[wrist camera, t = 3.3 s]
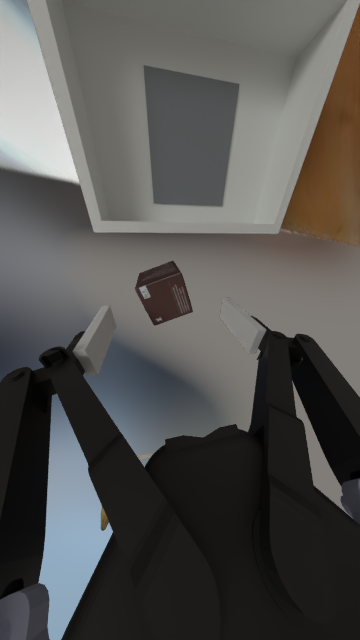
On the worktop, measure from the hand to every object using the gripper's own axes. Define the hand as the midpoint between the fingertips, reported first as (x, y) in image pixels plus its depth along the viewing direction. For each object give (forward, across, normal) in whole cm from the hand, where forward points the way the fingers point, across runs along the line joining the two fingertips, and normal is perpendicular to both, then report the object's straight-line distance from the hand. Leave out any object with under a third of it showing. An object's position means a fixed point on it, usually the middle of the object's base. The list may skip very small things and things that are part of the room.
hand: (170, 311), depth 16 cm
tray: (+9, +4, +15) cm, 18 cm away
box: (+10, 0, 0) cm, 10 cm away
